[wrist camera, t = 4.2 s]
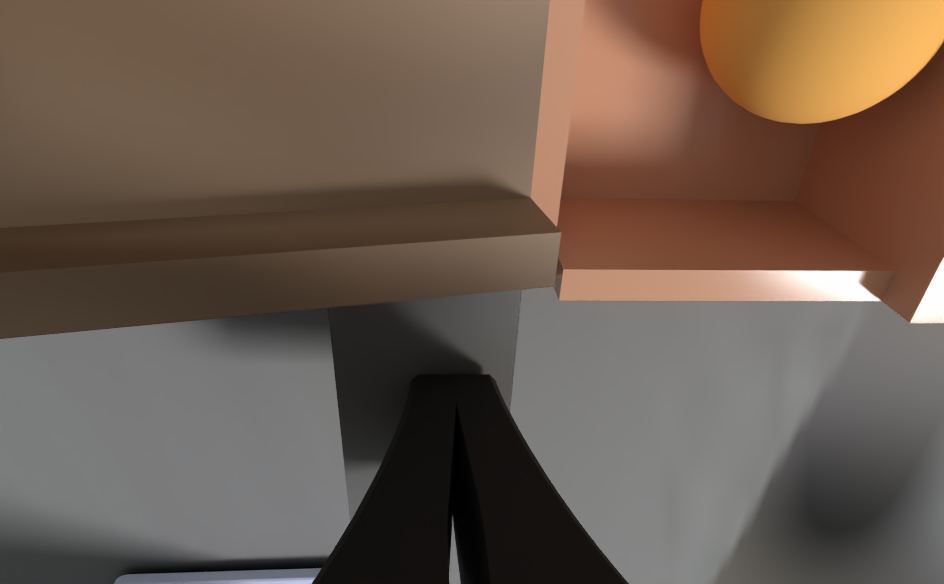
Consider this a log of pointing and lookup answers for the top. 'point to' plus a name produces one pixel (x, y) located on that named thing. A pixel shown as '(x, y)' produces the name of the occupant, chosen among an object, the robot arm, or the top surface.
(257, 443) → the top surface
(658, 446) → the top surface
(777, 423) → the top surface
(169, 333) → the top surface
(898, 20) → the ball
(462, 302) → the lever board
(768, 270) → the cup
